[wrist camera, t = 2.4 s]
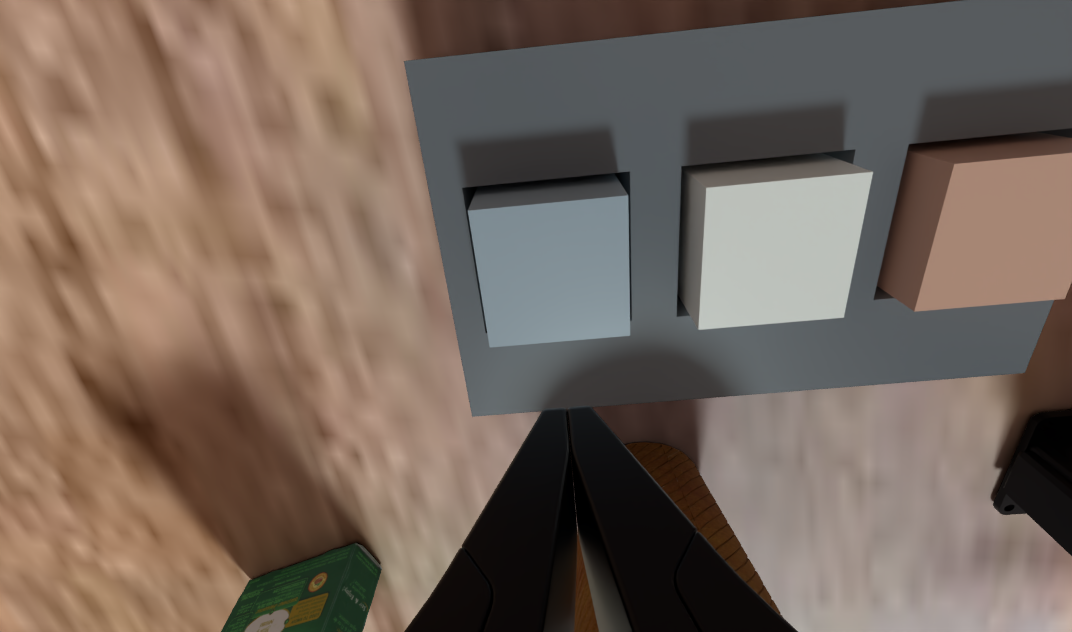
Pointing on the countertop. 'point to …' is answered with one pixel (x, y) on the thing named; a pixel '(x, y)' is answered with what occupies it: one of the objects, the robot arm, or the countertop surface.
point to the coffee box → (310, 595)
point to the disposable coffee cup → (699, 508)
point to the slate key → (553, 259)
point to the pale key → (769, 239)
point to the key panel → (733, 135)
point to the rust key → (981, 223)
